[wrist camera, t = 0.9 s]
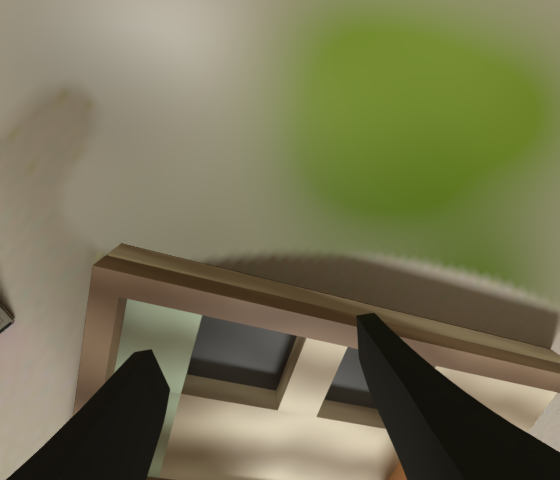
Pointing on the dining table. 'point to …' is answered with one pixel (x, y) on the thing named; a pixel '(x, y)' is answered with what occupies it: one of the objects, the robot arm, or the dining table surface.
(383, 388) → the robot arm
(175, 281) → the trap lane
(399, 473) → the block
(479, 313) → the dining table surface
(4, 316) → the candy bar box
